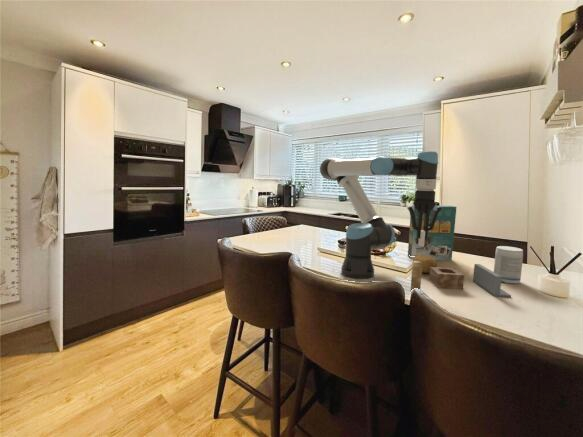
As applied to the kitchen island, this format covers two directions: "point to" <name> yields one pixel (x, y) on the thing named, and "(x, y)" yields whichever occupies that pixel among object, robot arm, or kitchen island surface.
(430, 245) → the cake mix box
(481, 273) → the bracket
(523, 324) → the kitchen island surface
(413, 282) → the dowel
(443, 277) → the block
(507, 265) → the supplement tub
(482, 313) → the kitchen island surface
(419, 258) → the potato
